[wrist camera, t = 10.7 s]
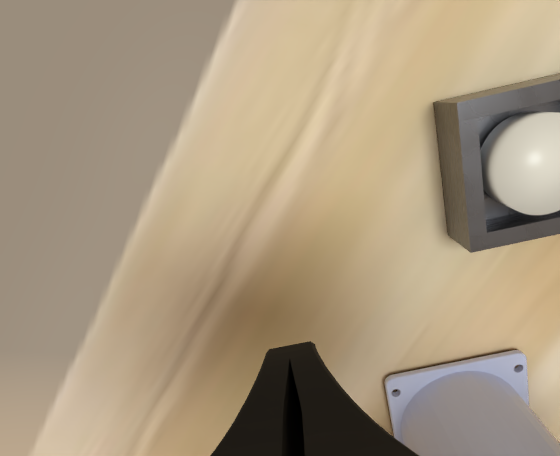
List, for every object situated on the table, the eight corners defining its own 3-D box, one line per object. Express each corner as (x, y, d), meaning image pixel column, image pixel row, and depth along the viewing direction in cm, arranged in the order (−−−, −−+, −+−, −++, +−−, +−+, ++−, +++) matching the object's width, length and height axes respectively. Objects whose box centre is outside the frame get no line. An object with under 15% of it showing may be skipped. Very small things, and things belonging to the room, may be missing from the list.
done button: (572, 195, 20) (597, 203, 19) (481, 215, 20) (498, 224, 19) (571, 101, 19) (598, 101, 17) (473, 123, 19) (491, 125, 18)
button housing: (579, 206, 22) (619, 220, 19) (447, 235, 22) (470, 252, 20) (578, 69, 20) (622, 65, 17) (433, 102, 20) (456, 102, 18)
